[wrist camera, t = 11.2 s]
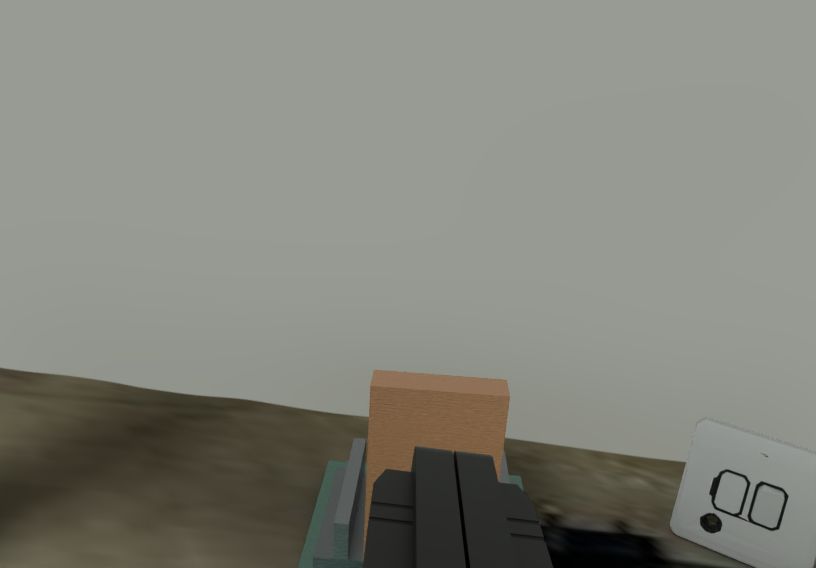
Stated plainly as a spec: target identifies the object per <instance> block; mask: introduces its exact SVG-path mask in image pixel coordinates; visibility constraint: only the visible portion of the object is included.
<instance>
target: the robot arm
mask: <svg viewBox="0 0 816 568" xmlns="http://www.w3.org/2000/svg"><path fill="white" fill-rule="evenodd" d="M363 568H553V565H552V562H551V559H550V556H549V552H548V549H547V546H546V543H545V541H544V536H543V533H542V530H541V526H540V525H539V520H538V516H537V513H536V510H535V507H534V503H533V502H532V500H531V499H530V498H529V497H528V496H527V495H526V494H525V493H524V491H523V490H522V489H521V488H520V487H519V486H518V485H517V484H509V483H500V482H498V478H497V473H496V469H495V464H494V460H493V457H492V455H486V454H478V453H469V452H461V451H454V453H453V452H452V450H444V449H436V448H427V447H419V446H415V449H414V454H413V460H412V467H411V472H408V471H400V470H391V469H385V471H384V472H383V473H382V474H381V475H380V476H379V477H378V478H377V480H376V481H375V482H374V483H373V490H372V497H371V505H370V513H369V520H368V528H367V536H366V543H365V551H364V560H363Z"/></svg>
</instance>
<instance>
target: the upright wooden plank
mask: <svg viewBox="0 0 816 568" xmlns="http://www.w3.org/2000/svg"><path fill="white" fill-rule="evenodd" d="M509 400H510V395H509V390H508V385H507V380H501V379H488V378H474V377H462V376H448V375H435V374H422V373H407V372H396V371H382V370H374V372H373V377H372V381H371V387H370V409H369V432H368V455H367V479H366V503H365V526H364V550H363V560H364V551H365V543H366V536H367V528H368V520H369V513H370V505H371V497H372V490H373V483H374V482H375V481H376V480H377V478H378V477H379V476H380V475H381V474H382V473H383V472H384V471H385V469H391V470H400V471H408V472H411V467H412V460H413V454H414V449H415V446H419V447H427V448H436V449H444V450H452V452H453V453H454V451H461V452H469V453H478V454H486V455H492V457H493V460H494V464H495V469H496V473H497V478H498V482H499V478H500V470H501V462H502V454H503V447H504V439H505V431H506V423H507V415H508V408H509Z"/></svg>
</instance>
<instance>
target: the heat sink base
mask: <svg viewBox="0 0 816 568" xmlns="http://www.w3.org/2000/svg"><path fill="white" fill-rule="evenodd" d="M365 455H366V439H362V438H354V440H353V444H352V448H351V452H350V457H349V461H348V462H343V461H330V460H329V461H328V464H327V468H326V471H325V474H324V478H323V481H322V485H321V488H320V492H319V495H318V499H317V502H316V506H315V509H314V513H313V516H312V520H311V523H310V527H309V530H308V534H307V537H306V541H305V544H304V548H303V551H302V555H301V558H300V561H299V565H298V568H363V550H364V526H365V503H366V479H367V463H365ZM499 482H500V483H509V484H517V485H518V486H519V487H520V488H521V489H522V490H523V486H522V480H521V476H516V475H509V474H508V468H507V462H506V456H505V450H503V454H502V462H501V470H500V478H499Z"/></svg>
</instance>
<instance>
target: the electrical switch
mask: <svg viewBox="0 0 816 568" xmlns="http://www.w3.org/2000/svg"><path fill="white" fill-rule="evenodd" d="M709 515H712V516H714V517H716V518H717V519H718V523H717V524H716V523H713V522H710V521H708V520H707V518H706V516H709ZM670 526H671V530H672V531H673V532H674V533H675V534H676V535H678V536H680V537H682V538H685V539H687V540H690V541H692V542H695V543H697V544H699V545H702V546H704V547H707V548H709V549H711V550H714V551H716V552H719V553H721V554H724V555H726V556H728V557H731V558H733V559H736V560H738V561H741V562H743V563H745V564H748V565H750V566H753V567H755V568H813V567H814V564H815V560H816V451H813V450H810V449H807V448H803V447H800V446H797V445H794V444H791V443H788V442H784V441H781V440H778V439H774V438H771V437H769V436H765V435H762V434H759V433H755V432H753V431H749V430H746V429H743V428H740V427H737V426H733V425H730V424H727V423H723V422H721V421H718V420H714V419H711V418H707V417H705V418H703V419H701V420H699V421H698V422H697V424H696V428H695V431H694V435H693V440H692V443H691V447H690V451H689V455H688V458H687V462H686V466H685V469H684V473H683V477H682V481H681V484H680V488H679V492H678V495H677V499H676V503H675V506H674V509H673V513H672V517H671V521H670Z"/></svg>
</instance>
